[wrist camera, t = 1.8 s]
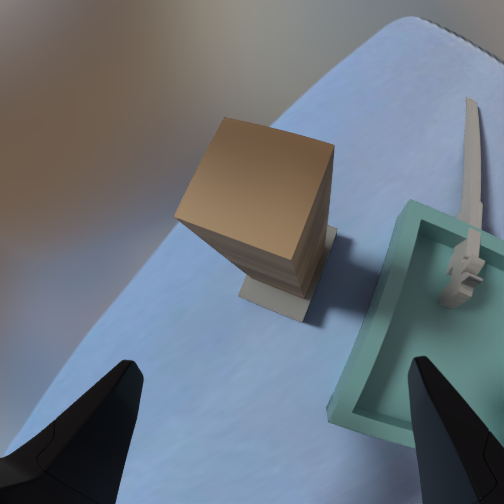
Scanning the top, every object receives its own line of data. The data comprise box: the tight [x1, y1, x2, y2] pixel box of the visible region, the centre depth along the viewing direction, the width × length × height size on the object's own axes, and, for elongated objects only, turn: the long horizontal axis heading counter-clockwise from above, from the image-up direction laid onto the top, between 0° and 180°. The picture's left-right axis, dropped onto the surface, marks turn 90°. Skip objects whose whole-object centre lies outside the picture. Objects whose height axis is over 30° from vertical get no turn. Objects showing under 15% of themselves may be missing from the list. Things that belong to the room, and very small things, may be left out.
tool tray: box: [326, 199, 504, 448], centre depth 17 cm, size 14×14×4 cm
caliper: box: [438, 97, 485, 309], centre depth 18 cm, size 20×1×6 cm, turn 157°
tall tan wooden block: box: [174, 117, 338, 322], centre depth 15 cm, size 6×4×14 cm
